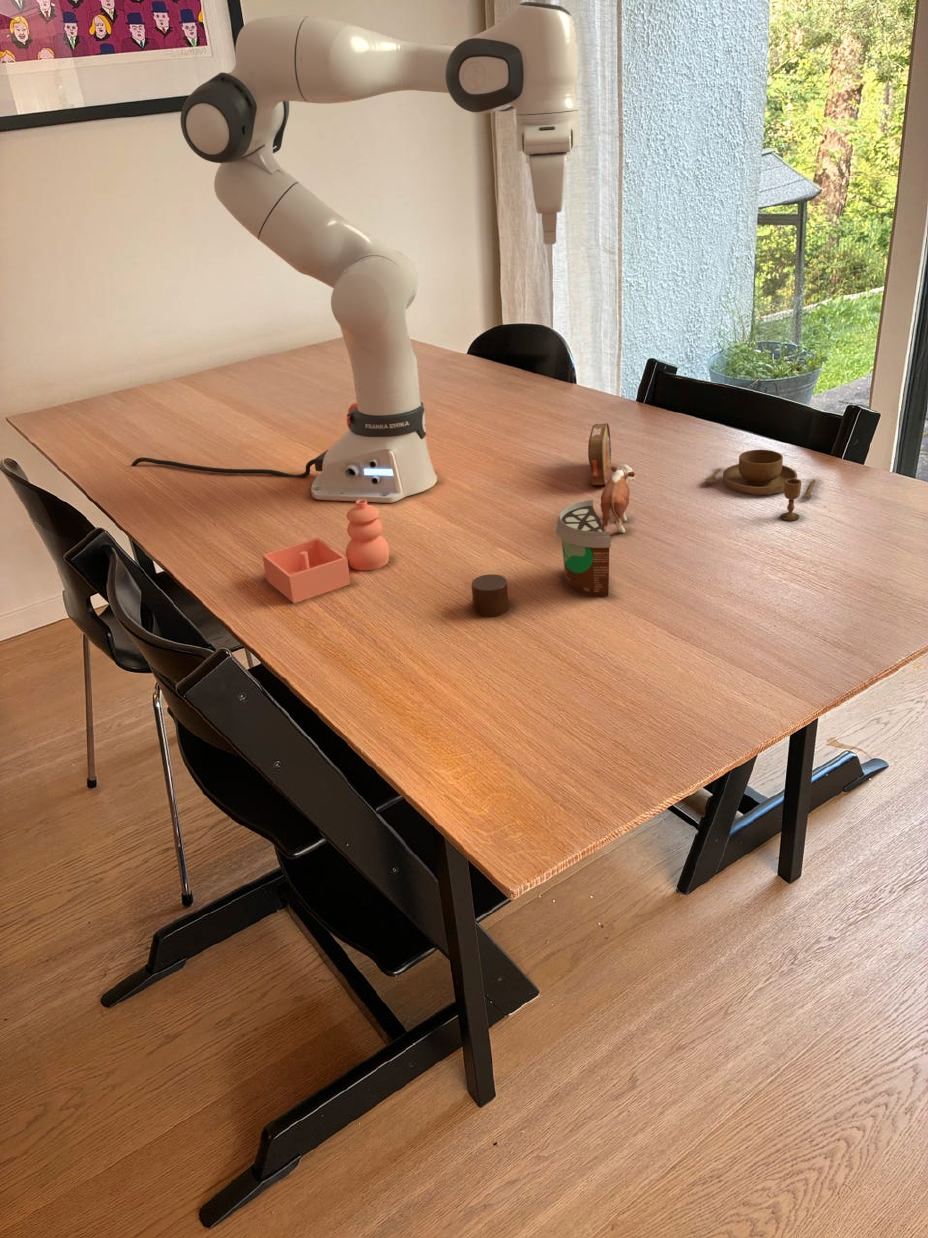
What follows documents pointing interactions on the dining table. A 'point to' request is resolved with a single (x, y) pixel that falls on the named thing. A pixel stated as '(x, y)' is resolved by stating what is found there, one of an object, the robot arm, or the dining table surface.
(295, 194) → the robot arm
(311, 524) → the dining table surface
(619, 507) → the bull figurine
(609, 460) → the tin
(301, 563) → the pottery
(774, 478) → the place setting
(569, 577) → the food container
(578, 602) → the dining table surface
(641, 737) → the dining table surface
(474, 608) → the brown cylinder
